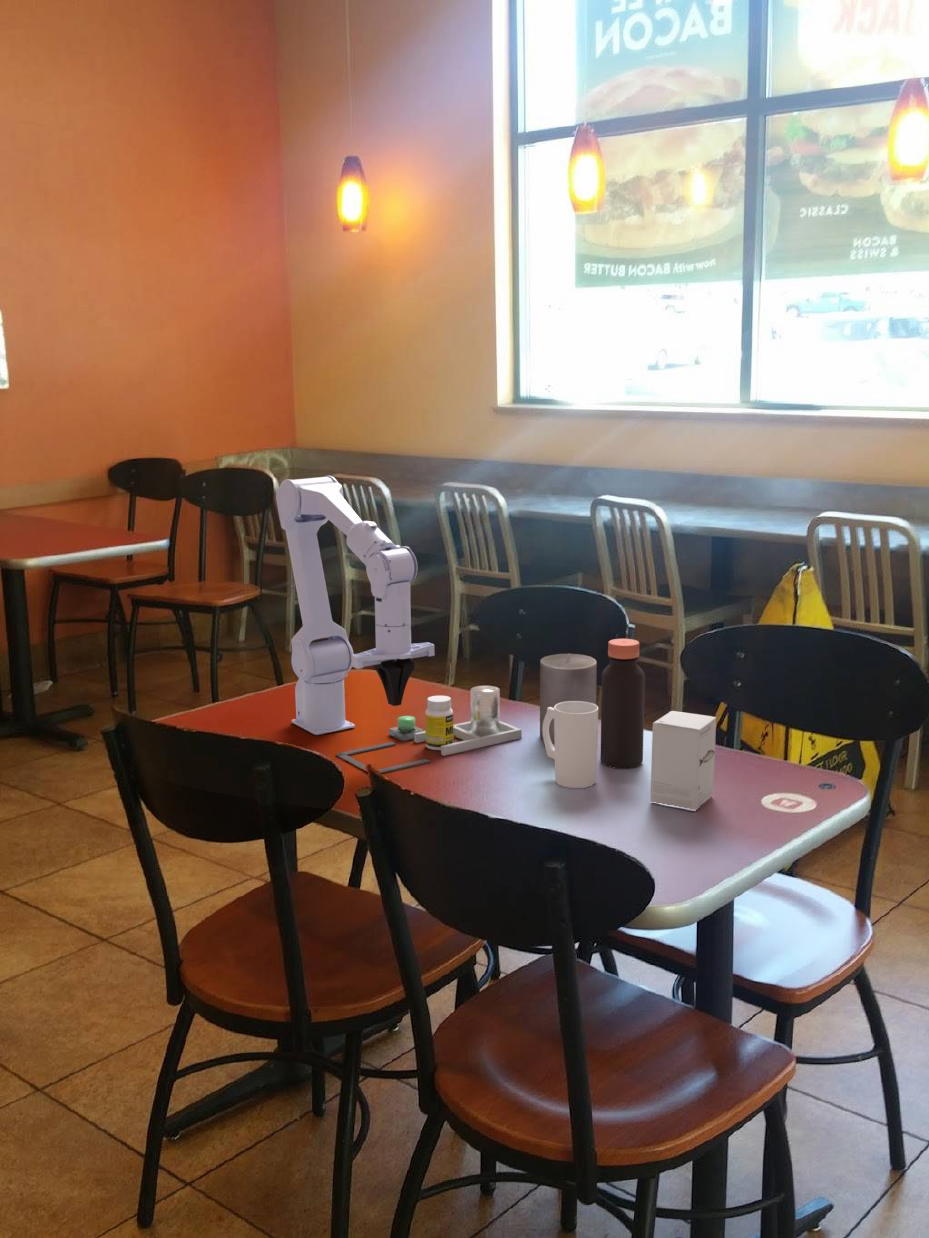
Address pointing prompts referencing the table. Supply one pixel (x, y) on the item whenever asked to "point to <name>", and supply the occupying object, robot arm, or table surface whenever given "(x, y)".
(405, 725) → the button
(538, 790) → the table surface
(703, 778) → the supplement box
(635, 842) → the table surface
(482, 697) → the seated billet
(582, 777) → the mug
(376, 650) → the robot arm
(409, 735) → the grey button base
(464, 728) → the workpiece holding fixture
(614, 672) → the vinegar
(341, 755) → the tote
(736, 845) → the table surface
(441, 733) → the supplement bottle
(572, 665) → the pillar candle
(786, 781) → the table surface
